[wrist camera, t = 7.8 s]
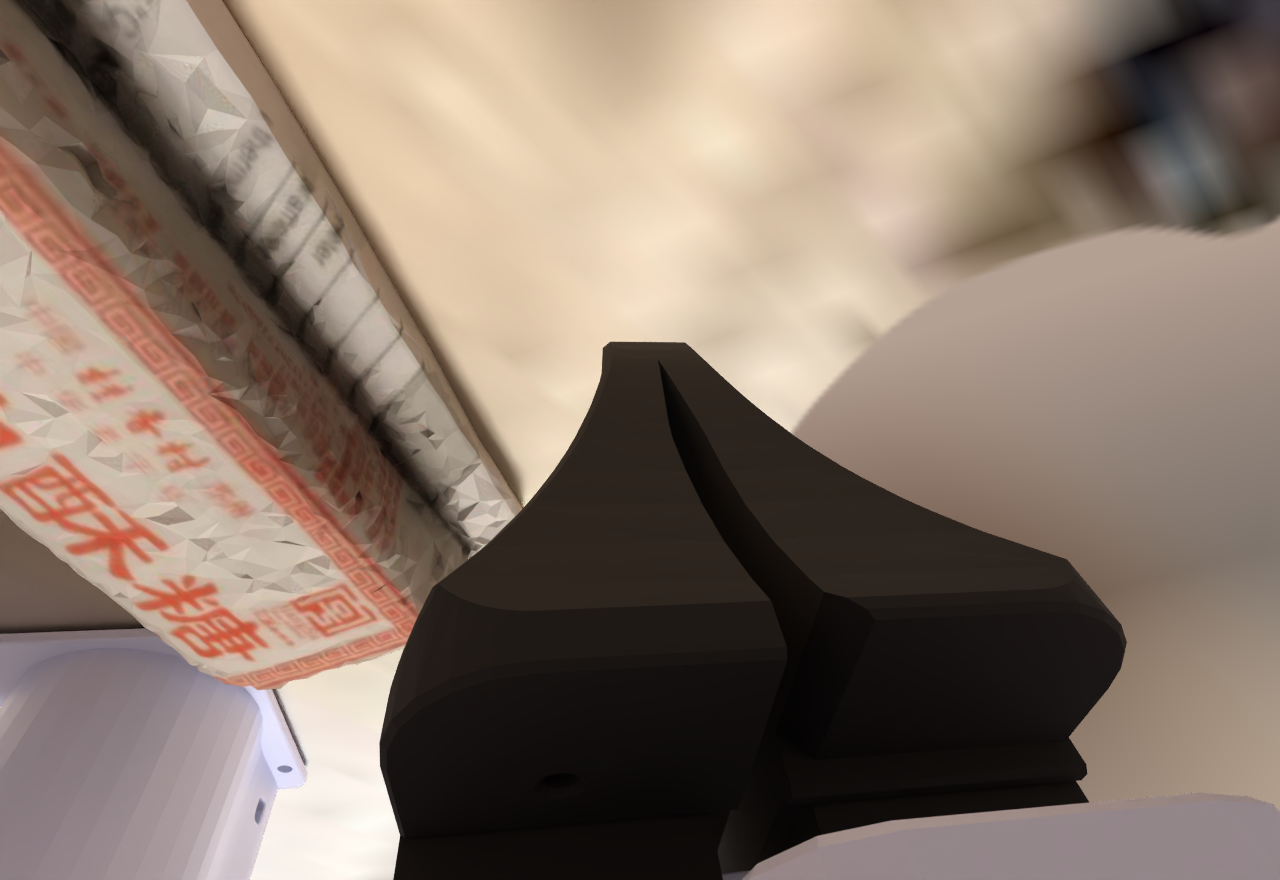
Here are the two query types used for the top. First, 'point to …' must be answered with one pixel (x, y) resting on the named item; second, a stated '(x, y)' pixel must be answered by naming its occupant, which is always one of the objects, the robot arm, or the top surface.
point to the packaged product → (213, 354)
